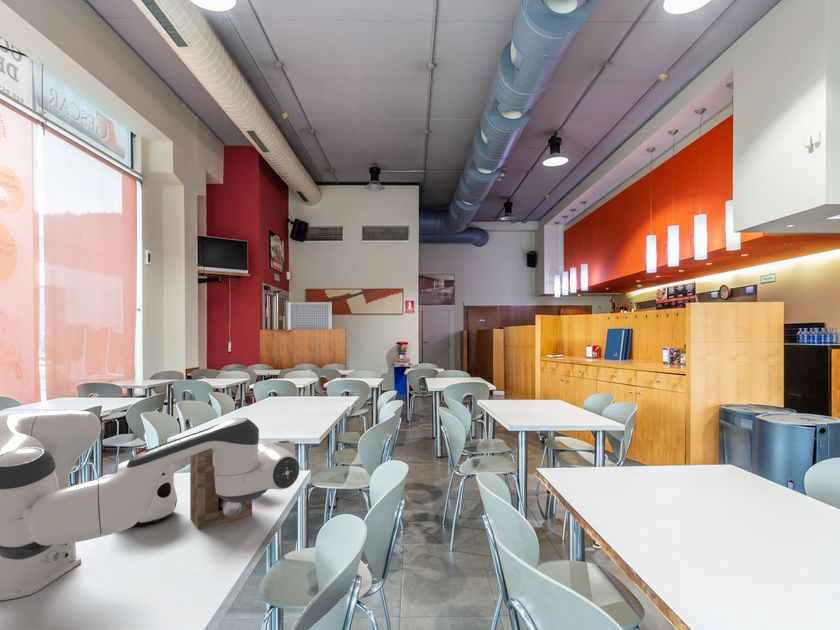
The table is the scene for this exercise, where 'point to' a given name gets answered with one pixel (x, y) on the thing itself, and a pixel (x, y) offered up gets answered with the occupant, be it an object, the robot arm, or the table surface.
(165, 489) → the milk container
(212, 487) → the box
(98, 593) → the table surface
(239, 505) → the grey plug
